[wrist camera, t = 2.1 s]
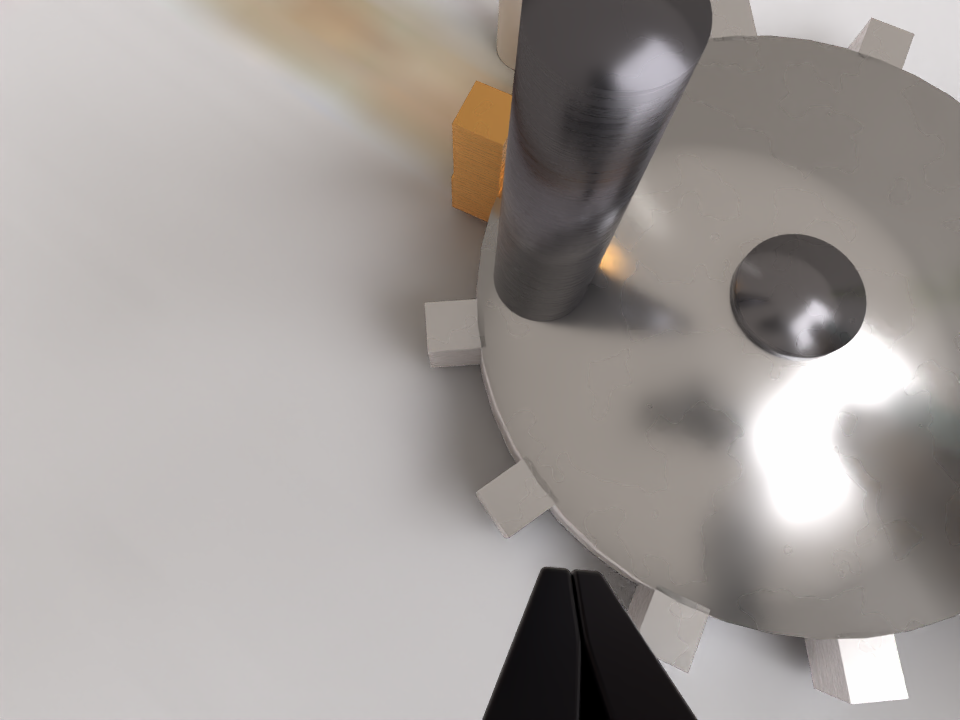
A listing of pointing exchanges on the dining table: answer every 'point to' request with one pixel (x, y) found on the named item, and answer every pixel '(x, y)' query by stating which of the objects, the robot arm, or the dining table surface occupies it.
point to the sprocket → (723, 321)
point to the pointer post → (508, 31)
